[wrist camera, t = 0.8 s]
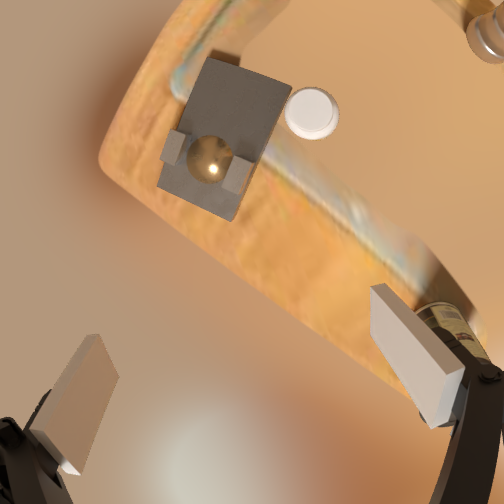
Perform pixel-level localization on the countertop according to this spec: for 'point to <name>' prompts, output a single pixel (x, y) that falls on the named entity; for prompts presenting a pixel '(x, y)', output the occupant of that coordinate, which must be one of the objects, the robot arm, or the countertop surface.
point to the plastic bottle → (488, 35)
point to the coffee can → (457, 325)
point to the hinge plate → (221, 136)
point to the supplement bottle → (312, 113)
